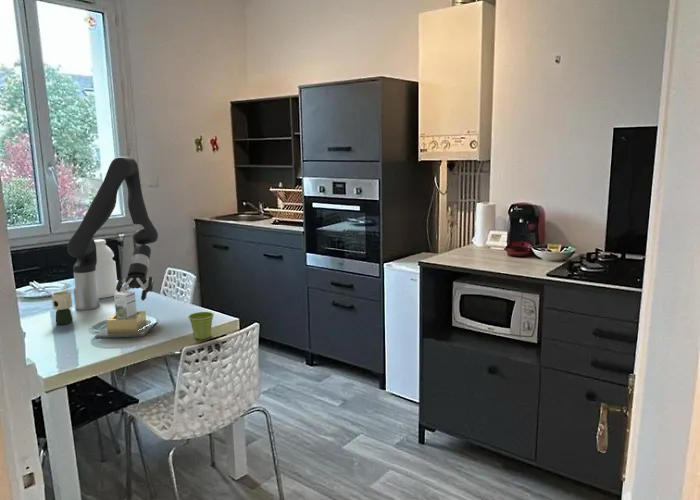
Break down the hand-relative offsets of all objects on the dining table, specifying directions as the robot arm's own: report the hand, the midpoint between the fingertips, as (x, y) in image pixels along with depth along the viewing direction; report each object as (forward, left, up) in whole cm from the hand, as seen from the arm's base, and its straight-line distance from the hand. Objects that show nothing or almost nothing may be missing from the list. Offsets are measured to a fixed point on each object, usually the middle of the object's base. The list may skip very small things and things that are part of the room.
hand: (132, 299), depth 220 cm
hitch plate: (0, -8, -10) cm, 13 cm away
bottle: (-32, +51, -10) cm, 61 cm away
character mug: (-30, +4, -10) cm, 32 cm away
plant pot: (+32, -20, -10) cm, 39 cm away
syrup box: (0, -8, -9) cm, 12 cm away
